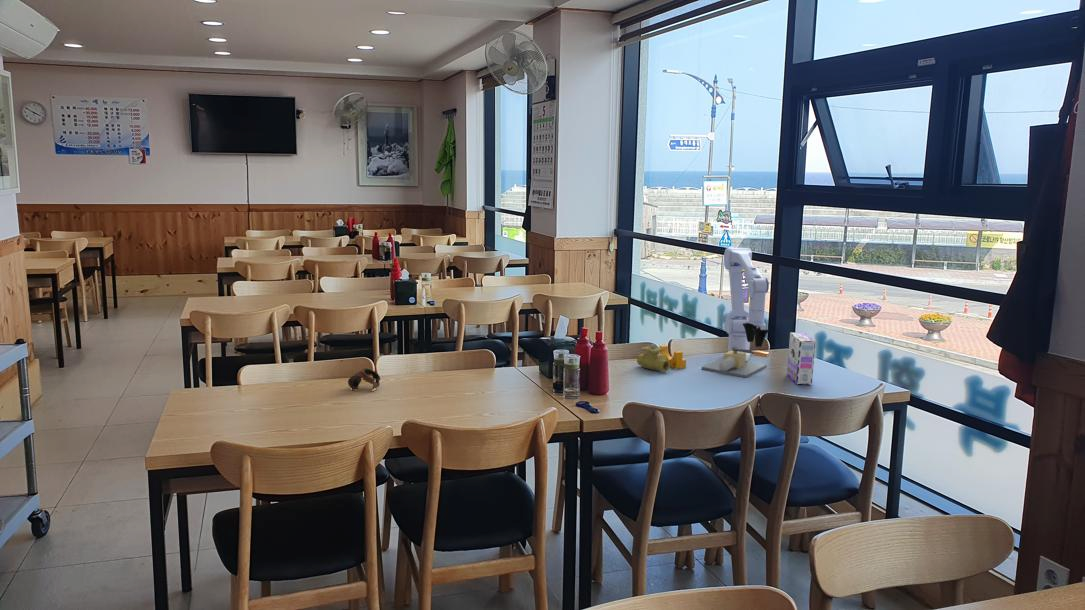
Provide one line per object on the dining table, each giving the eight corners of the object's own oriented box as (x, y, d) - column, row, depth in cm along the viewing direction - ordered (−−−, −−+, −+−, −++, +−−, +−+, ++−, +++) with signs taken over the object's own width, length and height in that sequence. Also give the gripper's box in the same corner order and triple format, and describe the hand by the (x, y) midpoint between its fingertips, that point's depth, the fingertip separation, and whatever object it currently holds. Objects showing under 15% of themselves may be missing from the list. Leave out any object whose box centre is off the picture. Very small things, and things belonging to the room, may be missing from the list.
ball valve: (634, 368, 314) (635, 342, 312) (651, 363, 320) (652, 338, 319) (659, 375, 305) (661, 349, 303) (677, 370, 311) (678, 344, 309)
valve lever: (730, 351, 313) (731, 347, 313) (733, 349, 315) (733, 346, 315) (766, 357, 305) (766, 353, 304) (769, 356, 307) (769, 352, 306)
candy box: (812, 385, 294) (816, 341, 291) (796, 385, 294) (799, 340, 291) (802, 374, 307) (805, 332, 304) (786, 374, 308) (789, 331, 304)
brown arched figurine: (359, 385, 288) (370, 366, 287) (376, 401, 284) (388, 381, 283) (336, 385, 278) (348, 365, 276) (354, 401, 274) (366, 381, 272)
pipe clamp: (685, 368, 315) (686, 351, 314) (676, 369, 313) (677, 352, 312) (668, 360, 325) (668, 344, 324) (658, 361, 324) (659, 345, 322)
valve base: (723, 359, 328) (724, 342, 326) (766, 367, 317) (767, 349, 315) (701, 369, 313) (702, 351, 311) (746, 378, 302) (747, 359, 301)
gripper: (739, 305, 317) (736, 339, 320) (754, 313, 303) (752, 349, 306) (756, 305, 319) (753, 339, 321) (772, 313, 305) (770, 348, 307)
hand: (754, 344), depth 314 cm, fingers open, 7 cm apart
